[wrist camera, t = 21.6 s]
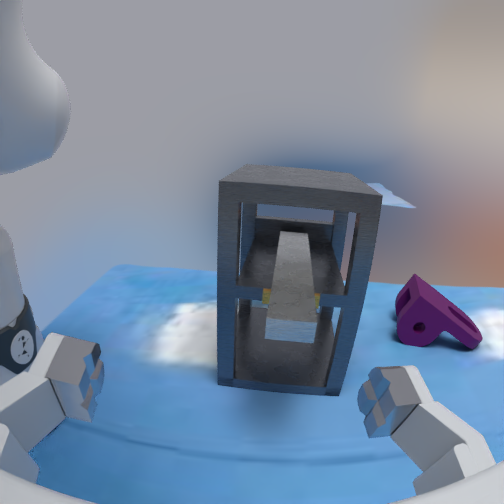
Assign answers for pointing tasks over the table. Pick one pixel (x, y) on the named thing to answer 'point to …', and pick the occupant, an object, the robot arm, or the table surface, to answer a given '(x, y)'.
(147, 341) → the table surface
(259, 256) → the rack
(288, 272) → the strip
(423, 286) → the mounting bracket
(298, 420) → the table surface
